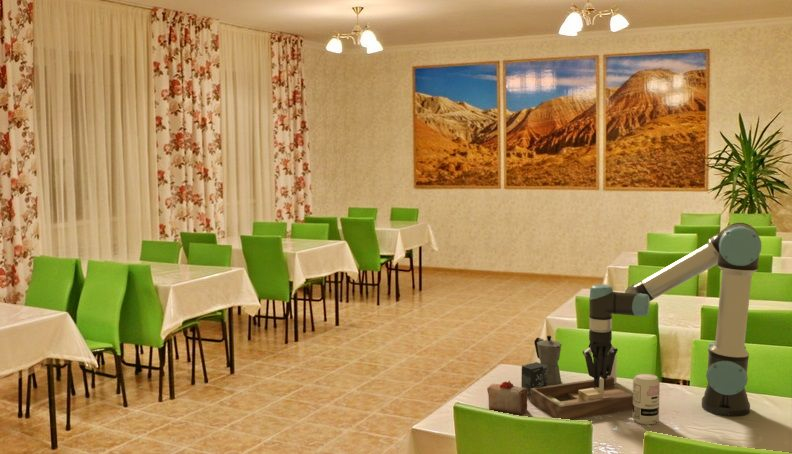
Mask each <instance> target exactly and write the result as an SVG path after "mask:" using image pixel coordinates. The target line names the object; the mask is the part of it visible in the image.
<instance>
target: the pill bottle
mask: <svg viewBox="0 0 792 454" xmlns="http://www.w3.org/2000/svg"><path fill="white" fill-rule="evenodd" d="M612 346H613V347H614V345H613V344H612ZM617 357H618V355H617V353H616V354H615V358H614V363H613V367H612V372H611V375H610V376H607V377H613V378H614V385H616V384H617V376H618V375H617V373H618V372H617V371H618V369H617V365H618V363H617V361H618V360H617Z"/></svg>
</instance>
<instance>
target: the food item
mask: <svg viewBox="0 0 792 454" xmlns="http://www.w3.org/2000/svg"><path fill="white" fill-rule="evenodd" d="M486 391H487V397H488V409H489V410H491V409H492V411H493V410H494V411H501V412H504V413H505V412H506V413H513V414H518V415H523V414H525V413H526V412H527V410H528V395H527V388H522V387H520V386H516V385H514V384H513V383H511V380H508V381H504V382H502V383H500V384H499V383H492V384H490V385H489V386H488V387H487V388H486Z"/></svg>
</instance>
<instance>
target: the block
mask: <svg viewBox="0 0 792 454" xmlns="http://www.w3.org/2000/svg"><path fill="white" fill-rule="evenodd" d="M596 399H603V393H602V392H600V391H598V390H596V389H594V388H589V389H582V390H578V401H579V402H583V401H590V400H596Z"/></svg>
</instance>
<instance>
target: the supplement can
mask: <svg viewBox="0 0 792 454" xmlns="http://www.w3.org/2000/svg"><path fill="white" fill-rule="evenodd" d="M660 383H661V382H660V380H659V377H658V375H655V374H653V373H637V374H635V375H634V378H633V379H632V394H633V410H632V419H633V420H634V422H636V423H638V424H641V425H645V426H649V424H652V425H656V424H657V423H658V422H659V421H660V386H661V385H660ZM656 422H657V423H656Z"/></svg>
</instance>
